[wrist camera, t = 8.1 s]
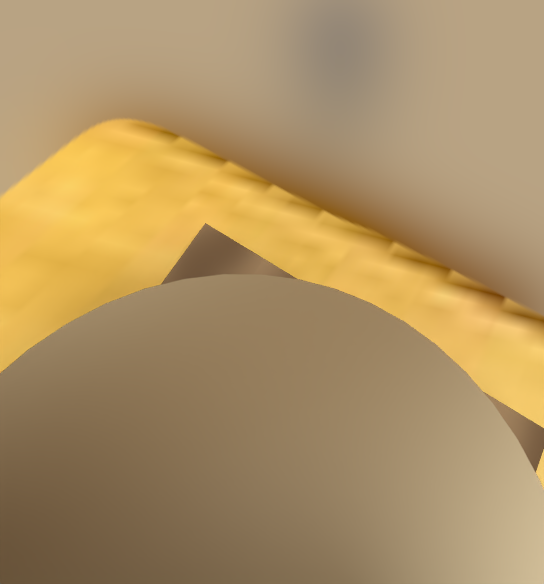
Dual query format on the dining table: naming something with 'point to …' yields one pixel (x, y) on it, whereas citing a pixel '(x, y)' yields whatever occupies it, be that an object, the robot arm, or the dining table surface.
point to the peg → (257, 448)
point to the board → (239, 260)
